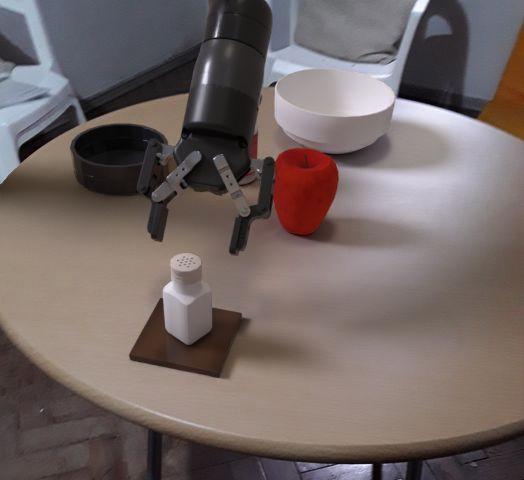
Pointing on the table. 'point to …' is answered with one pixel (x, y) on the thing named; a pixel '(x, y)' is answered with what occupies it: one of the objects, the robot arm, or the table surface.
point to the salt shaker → (187, 300)
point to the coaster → (180, 354)
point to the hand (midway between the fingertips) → (194, 247)
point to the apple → (304, 189)
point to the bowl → (333, 109)
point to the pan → (113, 157)
